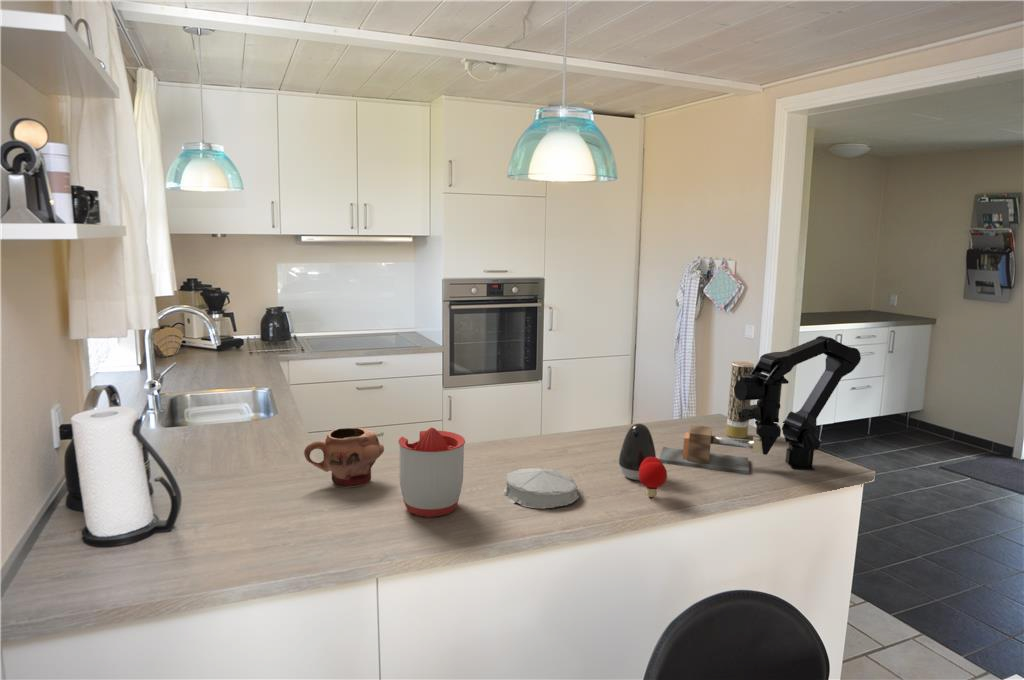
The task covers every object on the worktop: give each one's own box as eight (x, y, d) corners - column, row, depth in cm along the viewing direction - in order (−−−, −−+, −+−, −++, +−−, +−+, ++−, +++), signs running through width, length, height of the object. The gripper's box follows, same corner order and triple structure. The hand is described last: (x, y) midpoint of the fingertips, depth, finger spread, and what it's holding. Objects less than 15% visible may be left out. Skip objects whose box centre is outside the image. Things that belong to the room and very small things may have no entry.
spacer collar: (688, 453, 203) (690, 432, 202) (687, 459, 197) (689, 438, 196) (684, 452, 203) (685, 432, 202) (682, 458, 198) (684, 438, 197)
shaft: (762, 450, 195) (764, 438, 194) (763, 453, 191) (764, 441, 191) (699, 442, 200) (700, 430, 200) (698, 445, 197) (699, 434, 196)
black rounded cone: (612, 479, 182) (615, 425, 180) (624, 467, 191) (627, 416, 189) (648, 486, 178) (652, 431, 175) (659, 474, 187) (663, 422, 184)
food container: (491, 485, 177) (491, 461, 176) (560, 476, 184) (560, 453, 183) (518, 517, 158) (519, 490, 157) (593, 506, 165) (595, 480, 164)
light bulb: (668, 505, 166) (671, 466, 164) (640, 504, 166) (643, 465, 164) (661, 490, 175) (663, 454, 174) (634, 489, 175) (636, 453, 174)
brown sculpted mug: (309, 497, 164) (307, 443, 162) (301, 480, 175) (300, 428, 173) (389, 486, 172) (389, 434, 170) (377, 470, 183) (377, 421, 181)
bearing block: (747, 460, 201) (750, 430, 199) (748, 474, 189) (751, 442, 188) (663, 450, 208) (665, 420, 207) (659, 462, 197) (661, 431, 195)
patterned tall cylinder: (744, 433, 228) (751, 362, 224) (749, 440, 221) (756, 366, 217) (724, 432, 229) (730, 361, 225) (728, 438, 222) (734, 365, 218)
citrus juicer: (427, 488, 172) (428, 413, 169) (477, 507, 161) (479, 427, 158) (379, 506, 160) (379, 425, 157) (430, 528, 149) (431, 442, 146)
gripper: (739, 388, 202) (735, 438, 204) (740, 403, 184) (735, 457, 187) (779, 392, 198) (773, 443, 201) (783, 407, 181) (777, 462, 183)
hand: (764, 451), depth 193 cm, fingers open, 6 cm apart
